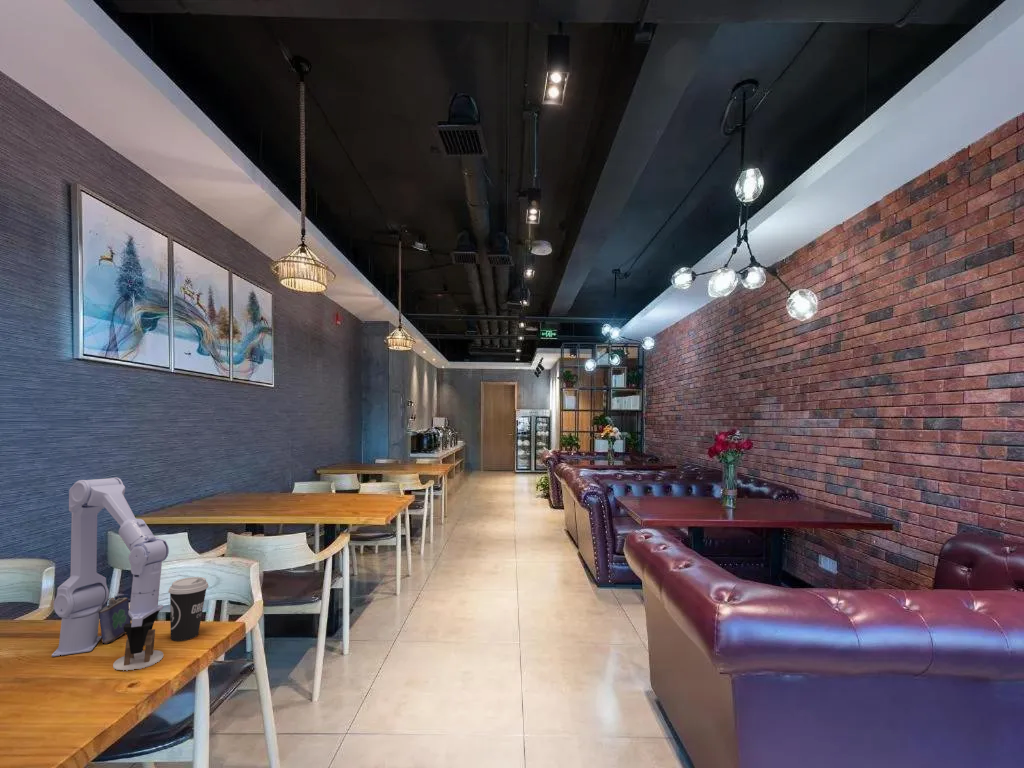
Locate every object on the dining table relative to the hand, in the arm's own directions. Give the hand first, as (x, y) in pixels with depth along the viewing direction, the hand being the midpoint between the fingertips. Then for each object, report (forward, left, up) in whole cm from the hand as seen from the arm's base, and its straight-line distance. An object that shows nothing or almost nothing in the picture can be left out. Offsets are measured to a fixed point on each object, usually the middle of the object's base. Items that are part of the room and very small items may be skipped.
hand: (140, 646), depth 122 cm
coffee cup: (-13, +8, -4) cm, 16 cm away
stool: (0, 0, -3) cm, 3 cm away
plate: (0, 0, -4) cm, 4 cm away
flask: (-19, -8, -3) cm, 21 cm away
